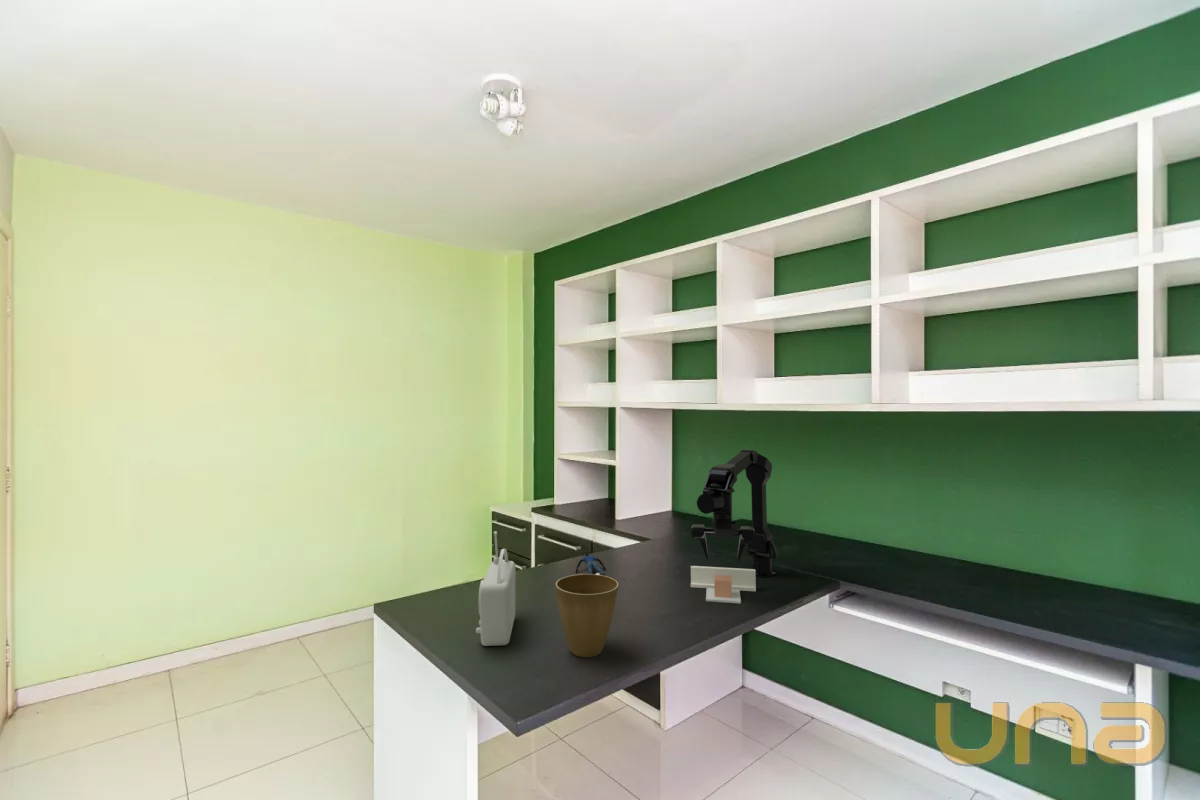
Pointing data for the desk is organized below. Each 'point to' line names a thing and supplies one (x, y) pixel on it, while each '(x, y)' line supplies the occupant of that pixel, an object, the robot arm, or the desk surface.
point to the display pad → (711, 597)
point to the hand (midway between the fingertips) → (722, 560)
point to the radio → (497, 601)
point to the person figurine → (591, 564)
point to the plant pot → (586, 611)
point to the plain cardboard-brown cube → (723, 586)
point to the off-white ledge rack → (706, 575)
